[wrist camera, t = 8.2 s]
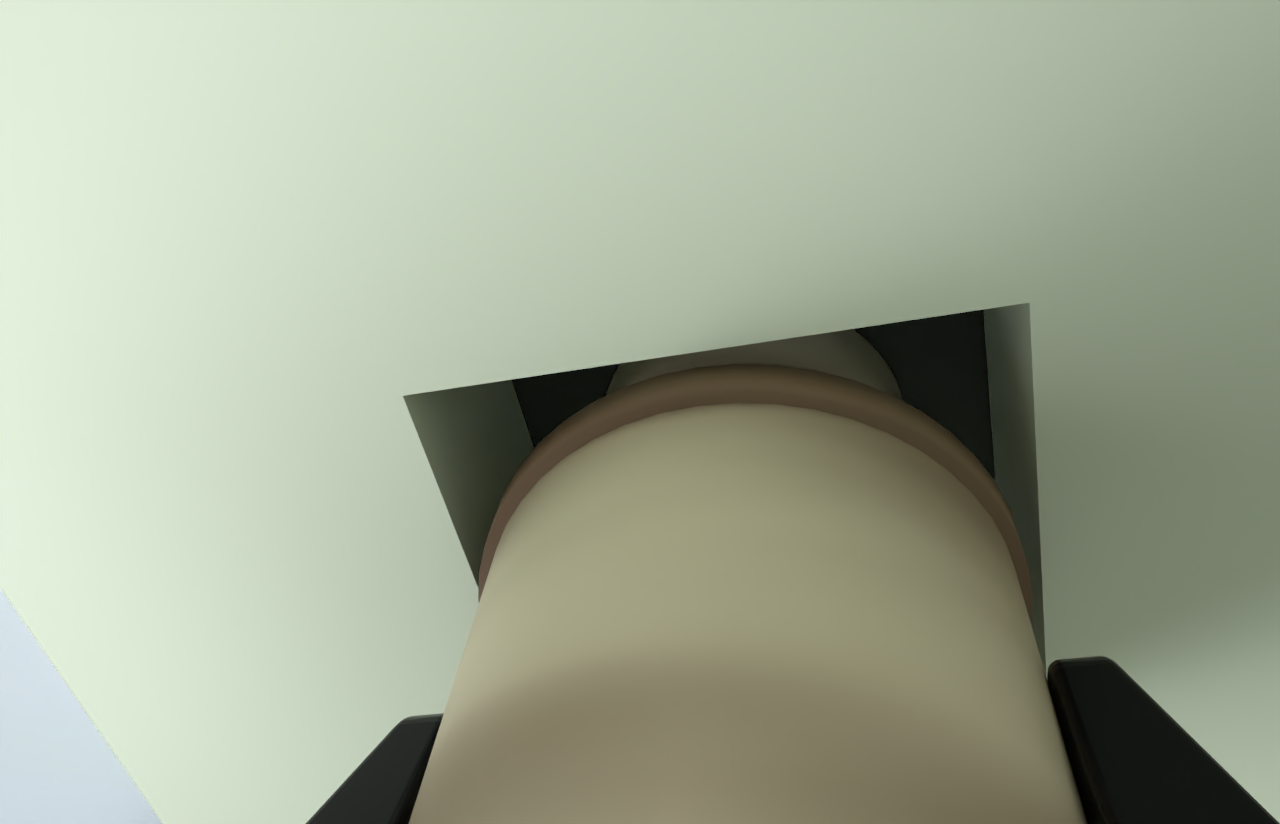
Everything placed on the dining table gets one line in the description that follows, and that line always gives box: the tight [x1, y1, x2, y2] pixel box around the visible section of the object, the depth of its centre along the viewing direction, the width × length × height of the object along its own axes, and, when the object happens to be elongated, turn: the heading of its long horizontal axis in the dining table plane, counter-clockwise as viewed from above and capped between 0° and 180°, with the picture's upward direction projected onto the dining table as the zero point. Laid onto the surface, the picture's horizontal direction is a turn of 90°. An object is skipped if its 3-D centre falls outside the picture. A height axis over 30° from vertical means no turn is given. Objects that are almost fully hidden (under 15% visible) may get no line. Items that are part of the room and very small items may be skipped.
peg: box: [409, 329, 1088, 824], centre depth 8 cm, size 5×5×9 cm
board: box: [0, 0, 1280, 824], centre depth 11 cm, size 16×14×2 cm
